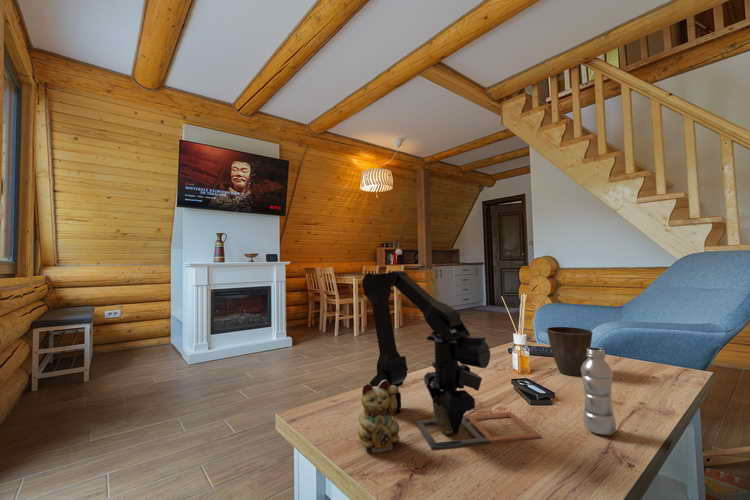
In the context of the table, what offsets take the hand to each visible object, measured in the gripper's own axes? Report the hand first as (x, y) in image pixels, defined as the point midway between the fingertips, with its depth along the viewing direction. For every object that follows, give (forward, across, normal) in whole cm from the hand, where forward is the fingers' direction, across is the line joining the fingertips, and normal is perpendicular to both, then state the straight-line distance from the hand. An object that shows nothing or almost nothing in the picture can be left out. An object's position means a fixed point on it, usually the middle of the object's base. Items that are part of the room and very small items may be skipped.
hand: (448, 424), depth 83 cm
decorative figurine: (+2, -2, +18) cm, 18 cm away
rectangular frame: (+2, 0, -7) cm, 7 cm away
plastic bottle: (+2, -7, -36) cm, 37 cm away
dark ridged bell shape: (+2, 0, 0) cm, 2 cm away
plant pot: (+2, +34, -62) cm, 71 cm away
